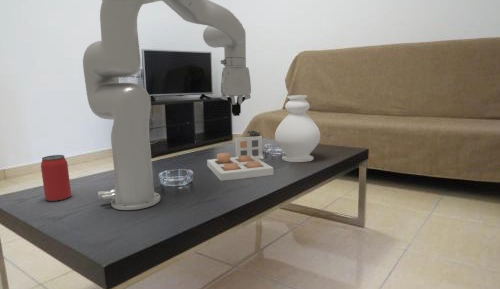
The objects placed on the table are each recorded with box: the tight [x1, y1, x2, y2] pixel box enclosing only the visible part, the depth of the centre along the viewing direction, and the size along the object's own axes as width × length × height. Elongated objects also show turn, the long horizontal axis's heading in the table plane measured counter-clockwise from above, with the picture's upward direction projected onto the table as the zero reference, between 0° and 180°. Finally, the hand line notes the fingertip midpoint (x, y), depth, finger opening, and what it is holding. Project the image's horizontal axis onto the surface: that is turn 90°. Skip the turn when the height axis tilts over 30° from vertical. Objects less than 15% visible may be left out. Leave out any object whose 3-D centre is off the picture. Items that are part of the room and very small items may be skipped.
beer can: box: [40, 154, 72, 202], centre depth 100 cm, size 7×7×12 cm
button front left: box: [224, 163, 238, 171], centre depth 120 cm, size 5×5×3 cm
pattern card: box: [234, 135, 265, 160], centre depth 143 cm, size 11×4×9 cm, turn 108°
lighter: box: [245, 129, 264, 155], centre depth 155 cm, size 8×3×10 cm, turn 58°
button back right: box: [238, 155, 251, 162], centre depth 132 cm, size 5×5×3 cm
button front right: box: [246, 161, 260, 168], centre depth 123 cm, size 5×5×3 cm
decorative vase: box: [274, 94, 321, 163], centre depth 140 cm, size 18×18×25 cm
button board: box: [206, 156, 275, 182], centre depth 126 cm, size 18×22×2 cm
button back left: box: [216, 152, 231, 164], centre depth 129 cm, size 5×5×3 cm
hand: (236, 115), depth 128 cm, fingers closed
